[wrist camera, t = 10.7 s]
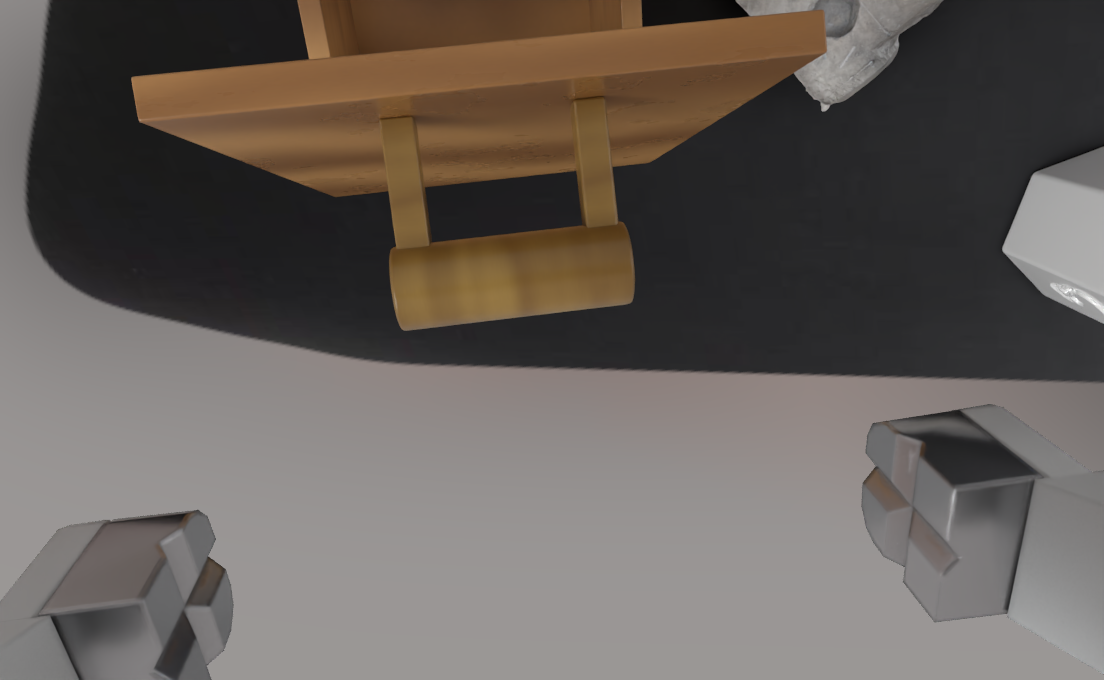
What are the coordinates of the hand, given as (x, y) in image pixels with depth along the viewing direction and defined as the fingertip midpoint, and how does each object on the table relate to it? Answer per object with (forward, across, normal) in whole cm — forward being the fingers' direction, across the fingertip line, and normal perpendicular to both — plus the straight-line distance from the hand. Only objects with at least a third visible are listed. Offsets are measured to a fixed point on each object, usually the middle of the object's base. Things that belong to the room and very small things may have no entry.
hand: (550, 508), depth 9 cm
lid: (+15, 0, -3) cm, 15 cm away
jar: (+32, -33, +8) cm, 47 cm away
